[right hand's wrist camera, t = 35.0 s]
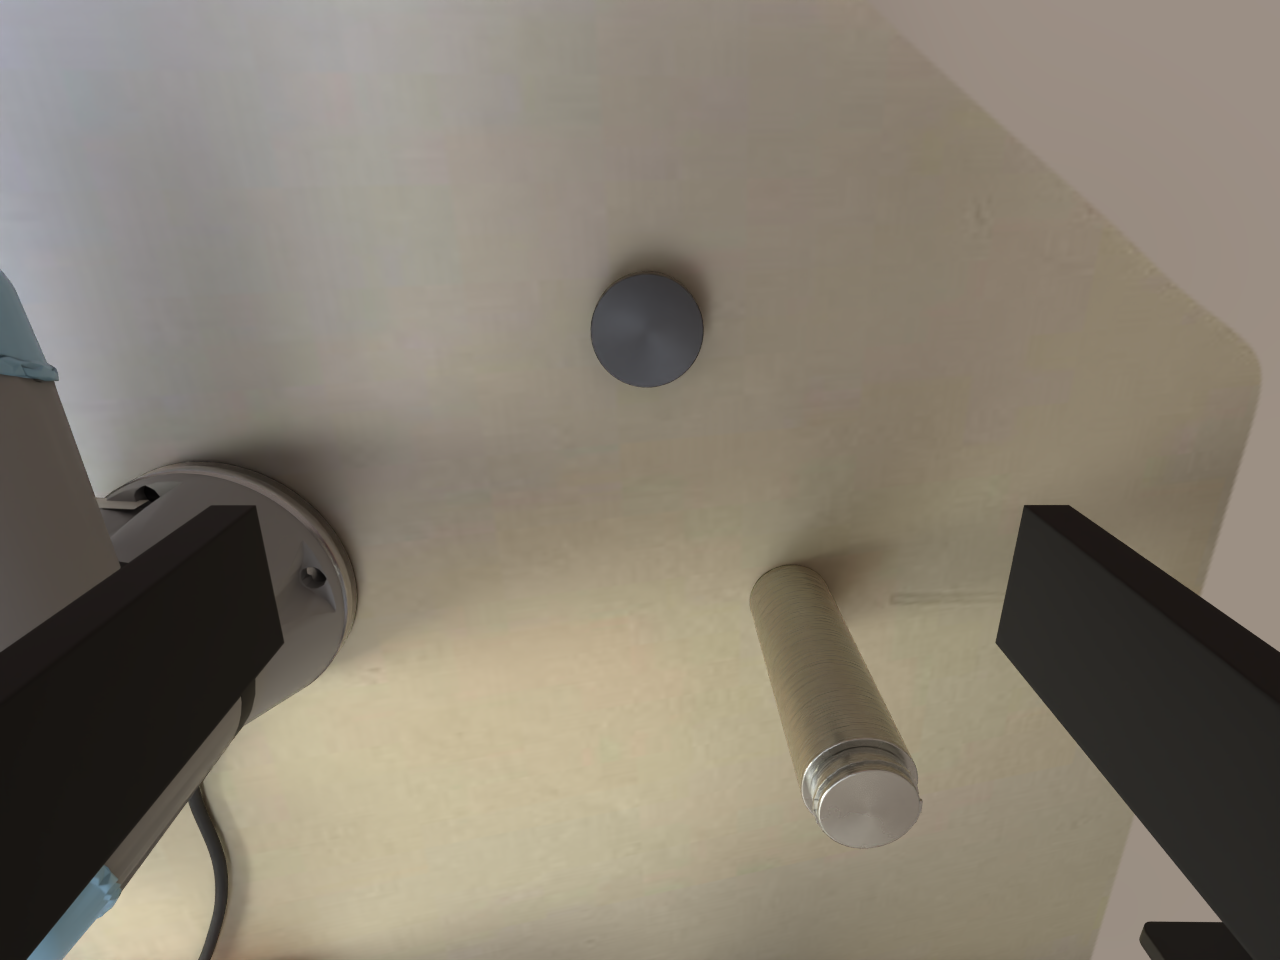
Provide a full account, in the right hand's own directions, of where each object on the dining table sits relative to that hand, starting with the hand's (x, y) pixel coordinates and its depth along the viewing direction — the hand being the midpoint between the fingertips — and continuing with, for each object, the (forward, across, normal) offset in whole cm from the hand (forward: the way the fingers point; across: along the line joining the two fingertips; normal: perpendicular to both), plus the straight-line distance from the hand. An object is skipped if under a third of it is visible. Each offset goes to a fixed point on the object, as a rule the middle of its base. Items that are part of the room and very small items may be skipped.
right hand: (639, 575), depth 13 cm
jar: (+27, +9, -16) cm, 33 cm away
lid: (+26, 0, 0) cm, 26 cm away
